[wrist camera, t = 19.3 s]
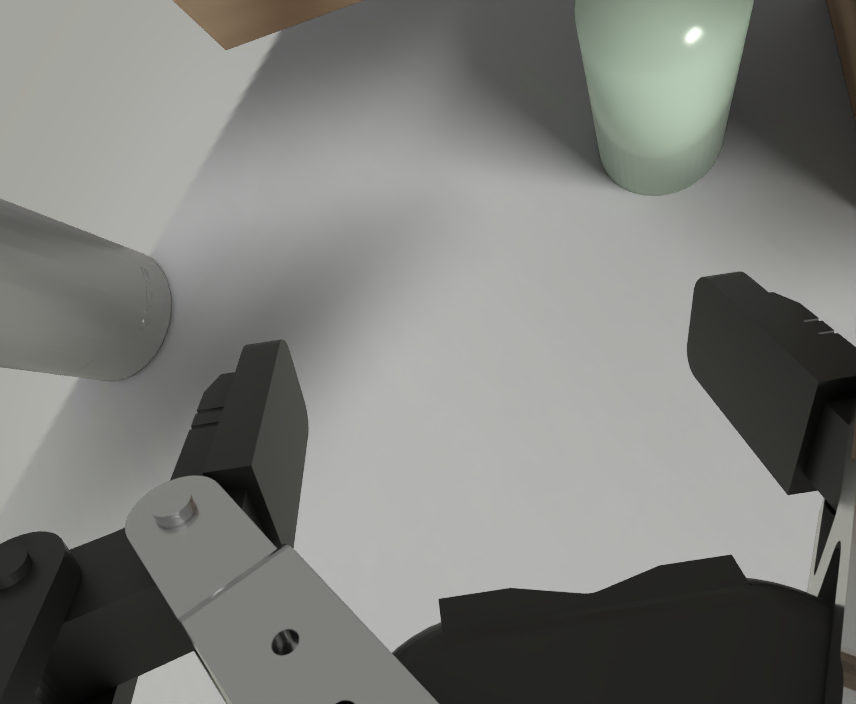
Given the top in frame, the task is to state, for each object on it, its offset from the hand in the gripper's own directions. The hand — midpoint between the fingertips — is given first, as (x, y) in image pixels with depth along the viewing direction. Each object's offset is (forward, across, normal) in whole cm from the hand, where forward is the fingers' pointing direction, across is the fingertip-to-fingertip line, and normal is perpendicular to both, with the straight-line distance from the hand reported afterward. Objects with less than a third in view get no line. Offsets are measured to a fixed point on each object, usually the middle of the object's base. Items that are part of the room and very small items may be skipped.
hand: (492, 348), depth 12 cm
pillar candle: (+22, -12, +3) cm, 25 cm away
